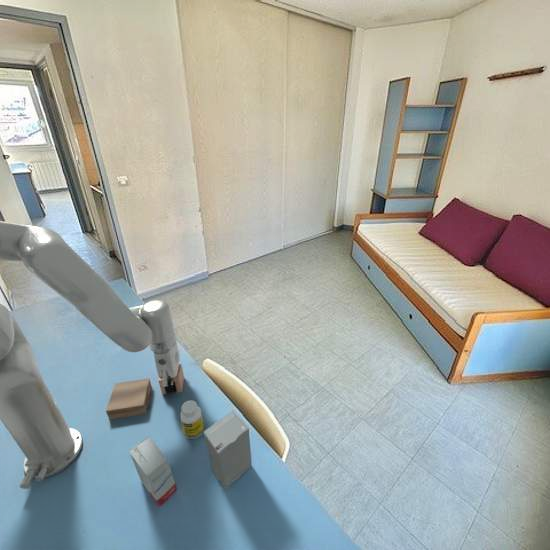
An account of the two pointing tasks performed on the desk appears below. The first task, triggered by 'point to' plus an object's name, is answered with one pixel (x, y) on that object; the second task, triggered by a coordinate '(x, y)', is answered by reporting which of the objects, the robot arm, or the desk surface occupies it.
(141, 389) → the walnut block
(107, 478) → the desk surface
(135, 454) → the ink box
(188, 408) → the supplement bottle
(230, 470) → the skincare box
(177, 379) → the terracotta cube
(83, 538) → the desk surface
